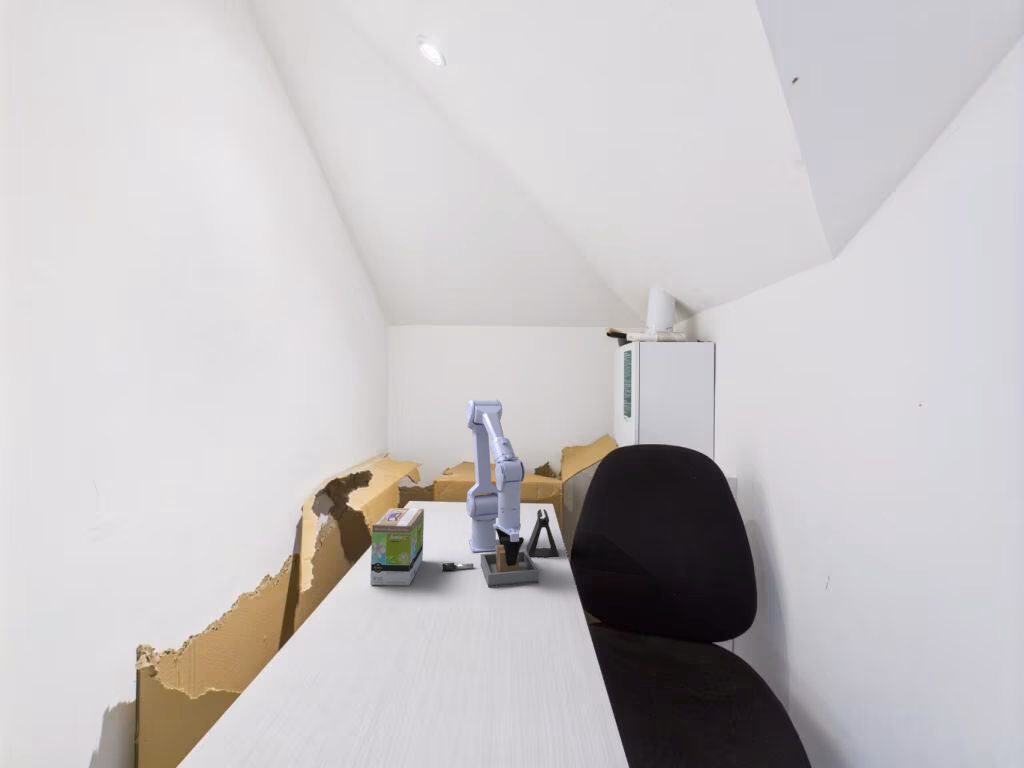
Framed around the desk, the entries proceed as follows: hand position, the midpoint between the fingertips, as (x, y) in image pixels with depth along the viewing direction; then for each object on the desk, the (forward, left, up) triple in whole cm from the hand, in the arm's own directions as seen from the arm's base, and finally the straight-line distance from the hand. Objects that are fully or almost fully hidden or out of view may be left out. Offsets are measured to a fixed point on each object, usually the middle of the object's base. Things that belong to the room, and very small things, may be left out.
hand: (508, 559), depth 109 cm
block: (0, 0, -3) cm, 3 cm away
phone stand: (-11, +12, -4) cm, 17 cm away
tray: (0, 0, -4) cm, 4 cm away
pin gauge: (-5, -13, -4) cm, 14 cm away
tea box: (-6, -28, -4) cm, 29 cm away
